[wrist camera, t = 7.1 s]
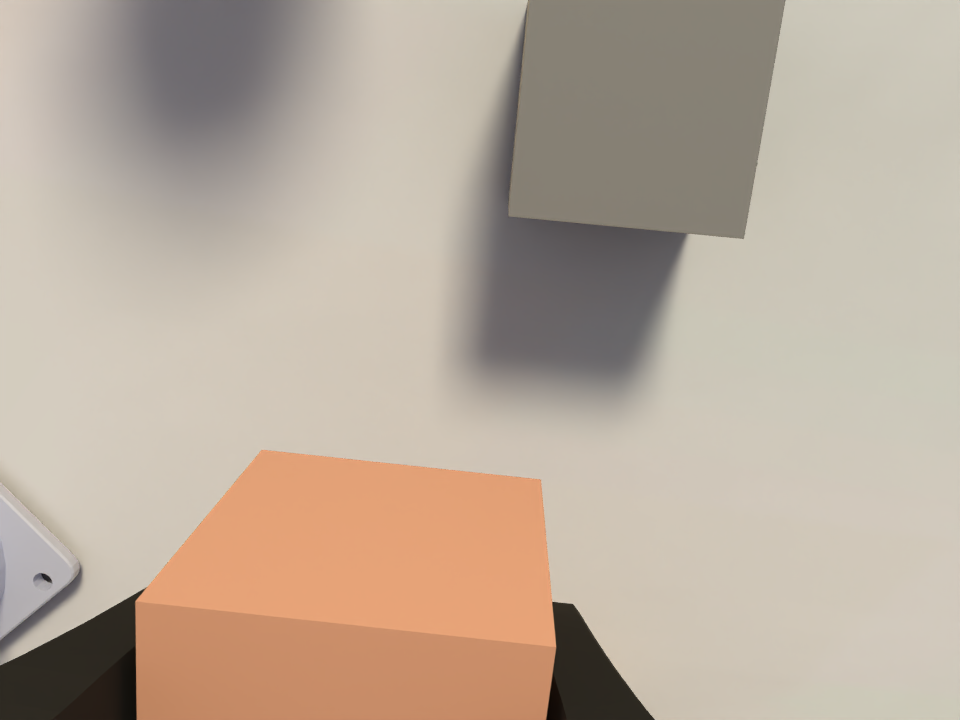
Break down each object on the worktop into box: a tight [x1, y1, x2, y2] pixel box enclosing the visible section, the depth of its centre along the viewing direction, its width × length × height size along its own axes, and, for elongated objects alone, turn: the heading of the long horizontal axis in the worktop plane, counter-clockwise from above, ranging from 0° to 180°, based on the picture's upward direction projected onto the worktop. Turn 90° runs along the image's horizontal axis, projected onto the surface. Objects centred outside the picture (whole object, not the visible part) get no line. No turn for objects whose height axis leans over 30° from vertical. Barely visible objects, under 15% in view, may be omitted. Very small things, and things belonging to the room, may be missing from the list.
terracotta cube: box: [135, 450, 556, 720], centre depth 11 cm, size 4×4×4 cm
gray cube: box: [508, 0, 785, 239], centre depth 17 cm, size 4×4×4 cm
